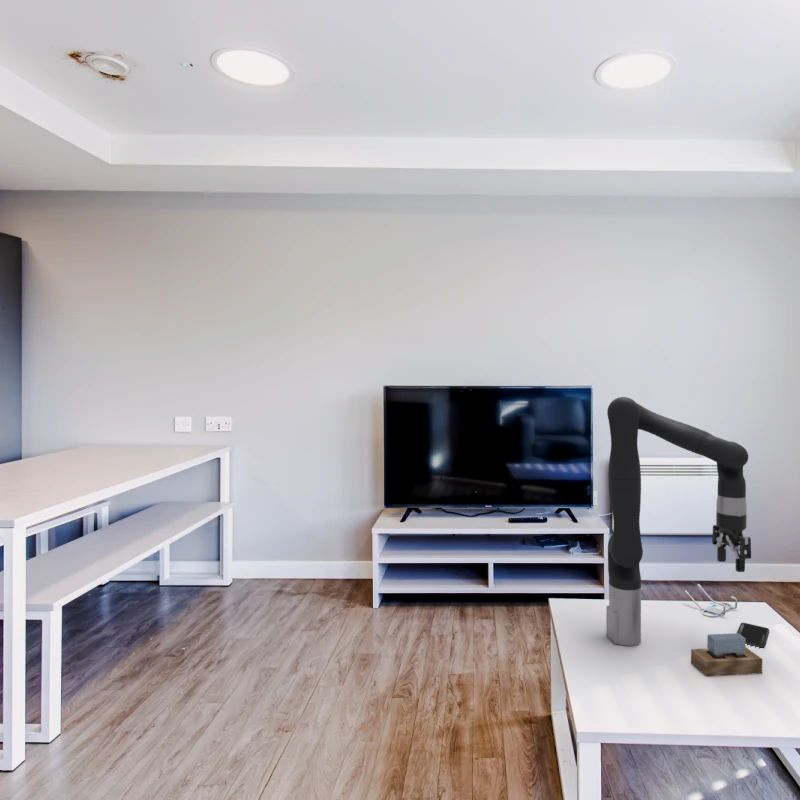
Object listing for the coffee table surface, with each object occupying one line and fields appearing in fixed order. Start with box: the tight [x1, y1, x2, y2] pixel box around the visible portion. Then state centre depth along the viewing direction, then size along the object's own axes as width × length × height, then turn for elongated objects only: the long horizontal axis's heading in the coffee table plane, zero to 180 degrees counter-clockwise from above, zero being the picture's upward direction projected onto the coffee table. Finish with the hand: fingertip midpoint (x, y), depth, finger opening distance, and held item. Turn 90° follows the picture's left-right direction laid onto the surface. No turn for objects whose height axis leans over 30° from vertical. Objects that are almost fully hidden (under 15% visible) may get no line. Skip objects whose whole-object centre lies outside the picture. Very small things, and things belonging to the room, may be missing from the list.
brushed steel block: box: [706, 632, 746, 659], centre depth 157 cm, size 9×3×8 cm, turn 93°
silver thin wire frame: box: [684, 583, 738, 618], centre depth 196 cm, size 16×14×6 cm
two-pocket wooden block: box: [690, 646, 763, 677], centre depth 157 cm, size 16×7×4 cm, turn 94°
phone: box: [736, 622, 770, 649], centre depth 175 cm, size 8×1×15 cm
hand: (730, 566), depth 163 cm, fingers open, 8 cm apart
